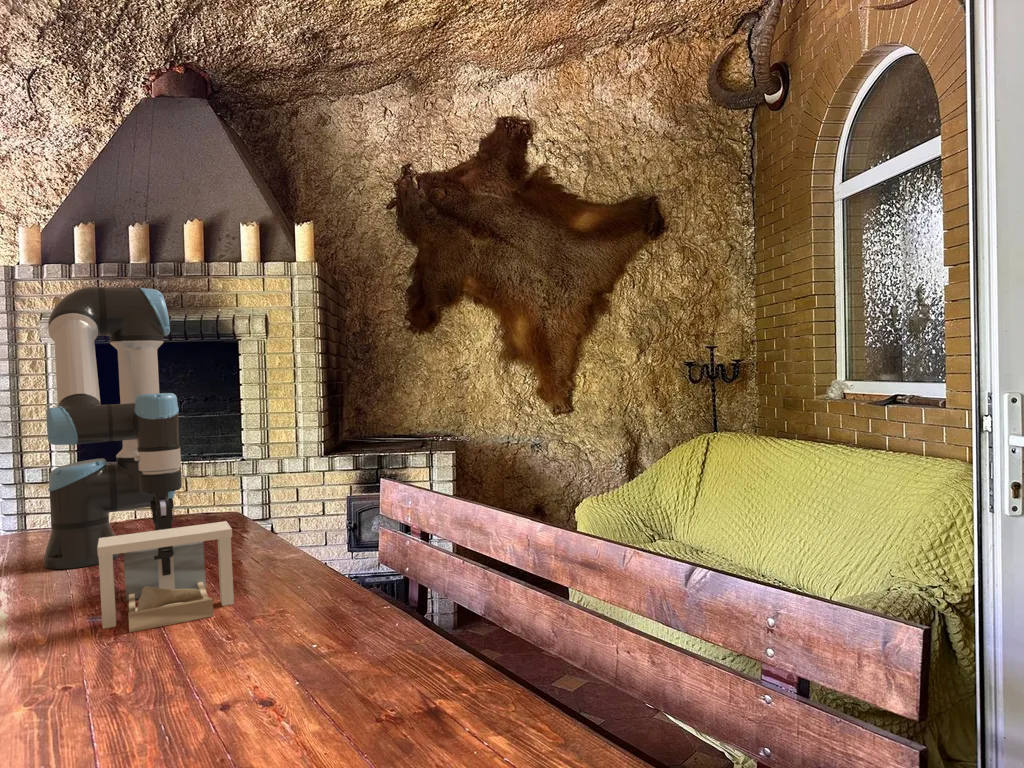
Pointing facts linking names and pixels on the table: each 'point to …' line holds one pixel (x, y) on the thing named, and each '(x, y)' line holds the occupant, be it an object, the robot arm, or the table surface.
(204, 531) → the shelf
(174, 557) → the rock display tray
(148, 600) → the stone
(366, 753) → the table surface
